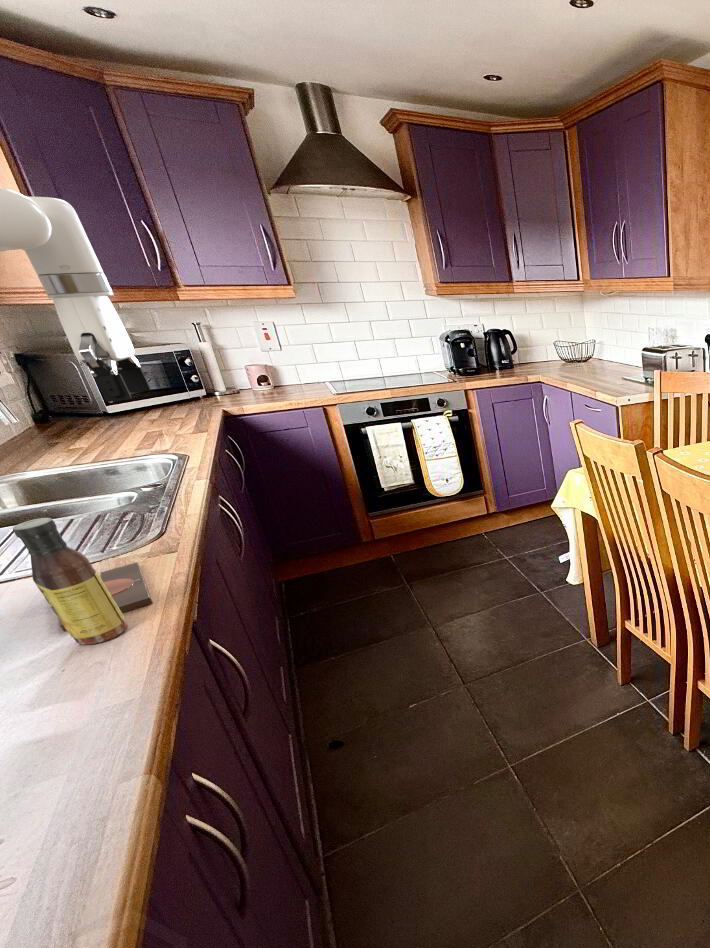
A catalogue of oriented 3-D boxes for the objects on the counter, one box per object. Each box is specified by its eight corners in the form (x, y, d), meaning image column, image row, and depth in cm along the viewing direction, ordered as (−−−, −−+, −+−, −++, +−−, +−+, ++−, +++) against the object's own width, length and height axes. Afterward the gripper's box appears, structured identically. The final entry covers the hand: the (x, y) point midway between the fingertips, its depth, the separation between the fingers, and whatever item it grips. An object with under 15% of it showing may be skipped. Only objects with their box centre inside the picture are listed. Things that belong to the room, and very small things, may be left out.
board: (61, 589, 108) (58, 583, 107) (140, 567, 115) (137, 561, 114) (63, 631, 94) (59, 624, 93) (152, 603, 101) (149, 597, 100)
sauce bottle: (92, 629, 94) (22, 517, 85) (138, 621, 96) (75, 510, 87) (65, 652, 88) (-12, 534, 80) (115, 643, 90) (45, 526, 81)
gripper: (69, 288, 98) (119, 391, 105) (17, 289, 84) (79, 407, 91) (127, 285, 101) (172, 385, 108) (86, 285, 87) (141, 400, 94)
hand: (129, 395), depth 100 cm, fingers open, 9 cm apart
